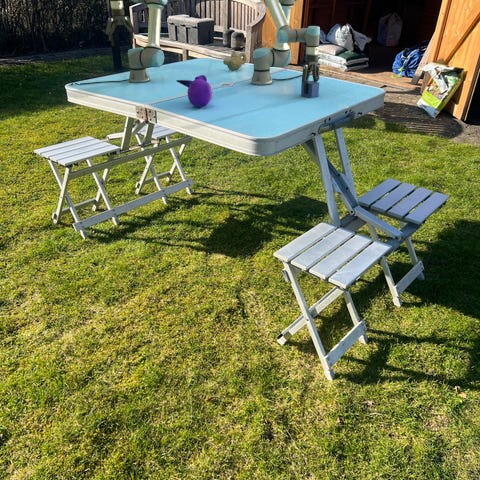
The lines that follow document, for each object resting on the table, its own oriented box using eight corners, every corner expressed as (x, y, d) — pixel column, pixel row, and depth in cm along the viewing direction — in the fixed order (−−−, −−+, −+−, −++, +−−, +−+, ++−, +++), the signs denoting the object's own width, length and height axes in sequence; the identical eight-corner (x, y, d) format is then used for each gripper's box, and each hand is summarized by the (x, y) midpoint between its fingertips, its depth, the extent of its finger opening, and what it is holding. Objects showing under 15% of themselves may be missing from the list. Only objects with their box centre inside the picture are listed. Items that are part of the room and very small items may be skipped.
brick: (311, 98, 283) (312, 84, 278) (300, 95, 289) (301, 81, 284) (318, 96, 286) (319, 82, 282) (307, 94, 292) (308, 80, 288)
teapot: (227, 72, 362) (226, 52, 355) (220, 70, 371) (219, 51, 363) (249, 69, 371) (249, 50, 364) (242, 67, 380) (242, 48, 372)
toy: (200, 97, 287) (212, 112, 266) (174, 93, 280) (184, 108, 259) (206, 72, 279) (218, 86, 258) (178, 67, 272) (189, 80, 251)
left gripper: (101, 9, 272) (107, 47, 283) (138, 7, 286) (142, 43, 297) (96, 9, 277) (102, 46, 288) (132, 7, 291) (136, 42, 302)
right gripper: (305, 56, 267) (303, 96, 279) (327, 53, 278) (324, 91, 289) (296, 55, 272) (294, 94, 284) (318, 51, 283) (315, 89, 294)
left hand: (122, 45), depth 292 cm, fingers open, 13 cm apart
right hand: (309, 92), depth 286 cm, fingers closed on brick, 7 cm apart
